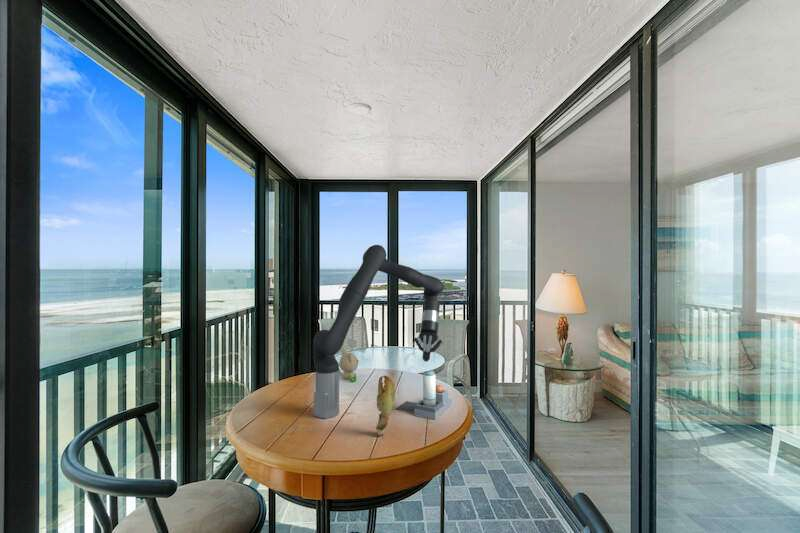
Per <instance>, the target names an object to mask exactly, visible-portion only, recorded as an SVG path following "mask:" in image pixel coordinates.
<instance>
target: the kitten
mask: <svg viewBox="0 0 800 533" xmlns="http://www.w3.org/2000/svg"><path fill="white" fill-rule="evenodd" d="M341 352H342V355H341V356H340V358H339V362H338V363H339V377H342V378H343V379H345V380H349V382H350V383H351V382H352V383H356V382H357V374H356V372H355V371H356V370H358V366H359V359H358V358H357V356H356V354H354V353H352V352H347V351H346V349H344V348H343V349H342V351H341ZM341 370H342V371H343V372H342V371H341Z"/></svg>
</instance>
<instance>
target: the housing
mask: <svg viewBox="0 0 800 533" xmlns="http://www.w3.org/2000/svg"><path fill="white" fill-rule="evenodd" d="M417 403H418V404H416V405H415V409H414V413H413V414H414V416H416V417H420V418H424V419H430V420H435V421H436V420H437V419H438V418H439V417H440V416H441V415H442V414H444V413H445V412H446V411H448V409H450V407H452V405H453V404H452V399H451V398H449V391H448V390H447V389H443V393H436V406H435V407H434V408H433V407H428V406H423V399H422V400H421V401H419V402H417Z"/></svg>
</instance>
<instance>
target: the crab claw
mask: <svg viewBox="0 0 800 533" xmlns="http://www.w3.org/2000/svg"><path fill="white" fill-rule="evenodd" d="M383 378H384V380H383ZM377 383H378V385H377V395H376V408H377V410H378V411H379V412H380V413H379V414H378V422H377V425H376V431H377V432H376V436H377V437H382V436H384V435H385V434H386V432H387V428H388V421H389V417H390V415H391V413H392V411H393V408H394V404H395V399H396V387H395V383H394V381H393V380H392V379H391V378H390V377H389V376H387V375H382V376H380V377H379V378H378V382H377ZM383 384H384V385H383Z"/></svg>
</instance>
